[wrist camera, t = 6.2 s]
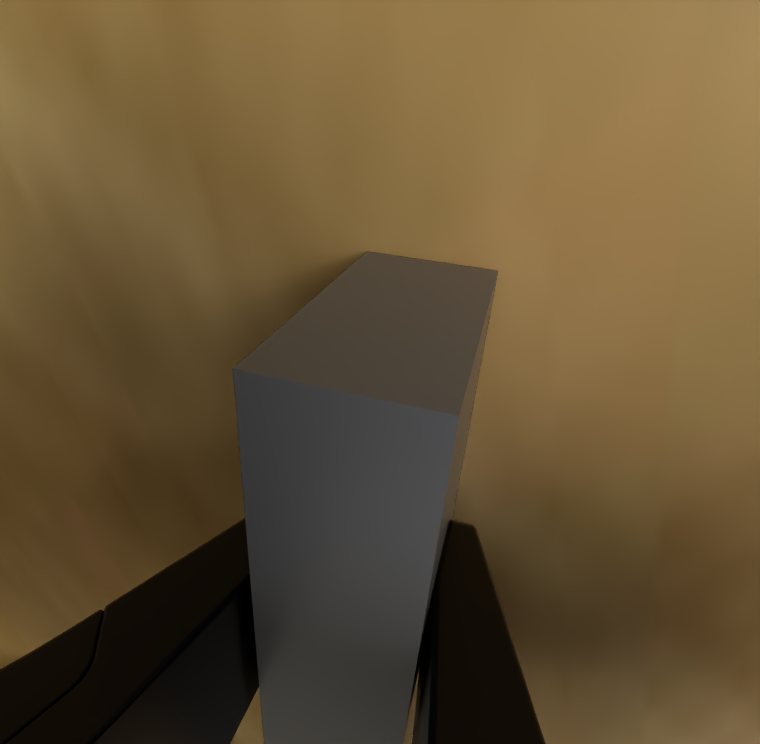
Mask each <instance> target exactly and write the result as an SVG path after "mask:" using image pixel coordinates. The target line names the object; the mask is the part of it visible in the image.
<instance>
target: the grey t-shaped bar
mask: <svg viewBox="0 0 760 744" xmlns="http://www.w3.org/2000/svg"><path fill="white" fill-rule="evenodd" d="M497 274H498V271H495V270H488V269H482V268H475V267H468V266H461V265H455V264H448V263H441V262H434V261H428V260H421V259H414V258H407V257H401V256H394V255H387V254H380V253H374V252H366V253H365V254H364V255H362V256H361V257H360V258H359V259H358V260H357V261H355V262H354V263H353V264H352V265H351V266H350V267H349V268H347V269H346V270H345V271H344V272H343V273H342V274H341V275H339V276H338V277H337V278H336V279H335V280H334V281H333V282H331V283H330V284H329V285H328V286H327V287H326V288H325V289H323V290H322V291H321V292H320V293H319V294H318V295H317V296H315V297H314V298H313V299H312V300H311V301H310V302H308V303H307V304H306V305H305V306H304V307H303V308H302V309H300V310H299V311H298V312H297V313H296V314H295V315H294V316H292V317H291V318H290V319H289V320H288V321H287V322H286V323H284V324H283V325H282V326H281V327H280V328H279V329H278V330H276V331H275V332H274V333H273V334H272V335H271V336H269V337H268V338H267V339H266V340H265V341H264V342H263V343H261V344H260V345H259V346H258V347H257V348H256V349H255V350H253V351H252V352H251V353H250V354H249V355H248V356H247V357H245V358H244V359H243V360H242V361H241V362H240V363H239V364H237V365H236V366H235V367H234V368H233V378H234V390H235V402H236V414H237V426H238V438H239V450H240V462H241V474H242V486H243V498H244V510H245V522H246V534H247V545H248V557H249V569H250V581H251V593H252V605H253V617H254V629H255V641H256V653H257V665H258V677H259V689H260V701H261V713H262V725H263V737H264V744H410V743H411V738H412V733H413V727H414V716H415V706H416V695H417V684H418V675H419V667H420V661H421V655H422V650H423V644H424V639H425V633H426V627H427V622H428V616H429V610H430V605H431V599H432V593H433V588H434V583H435V578H436V574H437V570H438V566H439V561H440V557H441V553H442V549H443V544H444V540H445V536H446V532H447V528H448V523H449V521H450V520H452V517H453V512H454V506H455V501H456V495H457V490H458V485H459V479H460V474H461V468H462V463H463V458H464V452H465V447H466V441H467V436H468V431H469V425H470V420H471V415H472V409H473V404H474V398H475V393H476V388H477V382H478V377H479V371H480V366H481V361H482V355H483V350H484V344H485V339H486V334H487V328H488V323H489V318H490V312H491V307H492V301H493V296H494V291H495V285H496V280H497Z"/></svg>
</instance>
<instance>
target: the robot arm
mask: <svg viewBox="0 0 760 744" xmlns="http://www.w3.org/2000/svg"><path fill="white" fill-rule="evenodd" d="M258 687H259V677H258V665H257V653H256V641H255V629H254V617H253V605H252V593H251V581H250V569H249V557H248V545H247V534H246V522H245V518H244V519H243V520H241V521H240V522H238V523H236V524H235V525H233V526H232V527H230V528H229V529H227V530H225V531H224V532H222V533H221V534H219V535H217V536H216V537H214V538H213V539H211V540H210V541H208V542H206V543H205V544H203V545H202V546H200V547H199V548H197V549H195V550H194V551H192V552H191V553H189V554H187V555H186V556H184V557H183V558H181V559H180V560H178V561H176V562H175V563H173V564H172V565H170V566H168V567H167V568H165V569H164V570H162V571H161V572H159V573H157V574H156V575H154V576H153V577H151V578H150V579H148V580H146V581H145V582H143V583H142V584H140V585H138V586H137V587H135V588H134V589H132V590H131V591H129V592H127V593H126V594H124V595H123V596H121V597H120V598H118V599H116V600H115V601H113V602H112V603H110V604H108V605H107V606H106V607H105V609H104V611H103V610H99V611H97V612H95V613H94V614H92V615H91V616H89V617H88V618H86V619H84V620H83V621H81V622H80V623H78V624H76V625H75V626H73V627H72V628H70V629H68V630H67V631H65V632H63V633H62V634H60V635H58V636H57V637H55V638H53V639H52V640H50V641H49V642H47V643H45V644H44V645H42V646H40V647H39V648H37V649H35V650H34V651H32V652H30V653H29V654H27V655H25V656H23V657H21V658H20V659H18V660H16V661H14V662H12V663H11V664H9V665H7V666H5V667H4V668H2V669H0V744H230V742H231V740H232V739H233V737H234V735H235V733H236V731H237V729H238V727H239V725H240V723H241V721H242V719H243V717H244V715H245V713H246V711H247V709H248V707H249V705H250V703H251V701H252V699H253V697H254V695H255V693H256V691H257V689H258ZM412 744H545V741H544V738H543V735H542V731H541V728H540V725H539V722H538V719H537V716H536V713H535V710H534V707H533V704H532V700H531V697H530V694H529V691H528V688H527V685H526V682H525V679H524V676H523V673H522V669H521V666H520V663H519V660H518V657H517V654H516V651H515V648H514V645H513V642H512V639H511V635H510V632H509V629H508V626H507V623H506V620H505V617H504V614H503V611H502V608H501V604H500V601H499V598H498V595H497V592H496V589H495V586H494V583H493V580H492V577H491V573H490V570H489V567H488V564H487V561H486V558H485V555H484V552H483V549H482V546H481V542H480V539H479V536H478V533H477V530H476V528H475V527H474V526H473V525H472V524H468V523H464V522H460V521H456V520H450V521H449V523H448V528H447V532H446V536H445V540H444V544H443V549H442V553H441V557H440V561H439V566H438V570H437V574H436V578H435V583H434V588H433V593H432V599H431V605H430V610H429V616H428V622H427V627H426V633H425V639H424V644H423V650H422V655H421V661H420V667H419V675H418V684H417V695H416V706H415V716H414V727H413V738H412Z"/></svg>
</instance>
